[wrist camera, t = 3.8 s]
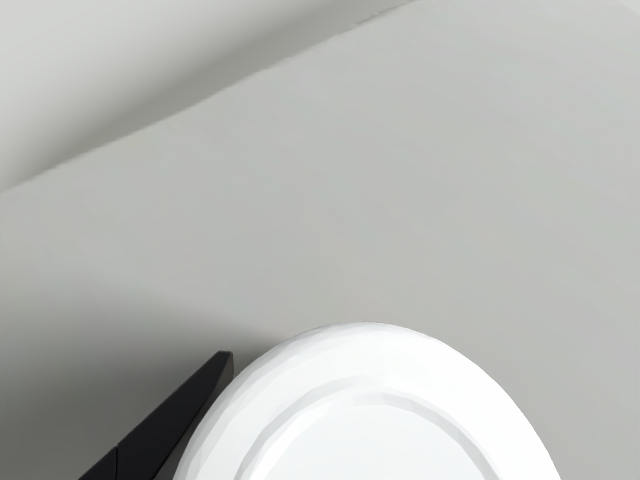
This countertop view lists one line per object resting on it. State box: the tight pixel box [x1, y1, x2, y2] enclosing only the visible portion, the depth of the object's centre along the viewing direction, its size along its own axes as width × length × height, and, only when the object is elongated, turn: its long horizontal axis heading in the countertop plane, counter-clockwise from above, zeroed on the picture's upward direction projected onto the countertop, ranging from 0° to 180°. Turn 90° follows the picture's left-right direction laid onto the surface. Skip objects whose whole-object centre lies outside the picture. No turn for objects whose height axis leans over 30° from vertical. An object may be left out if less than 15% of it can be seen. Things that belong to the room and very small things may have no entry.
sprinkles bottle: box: [173, 322, 561, 480], centre depth 9 cm, size 5×5×14 cm
